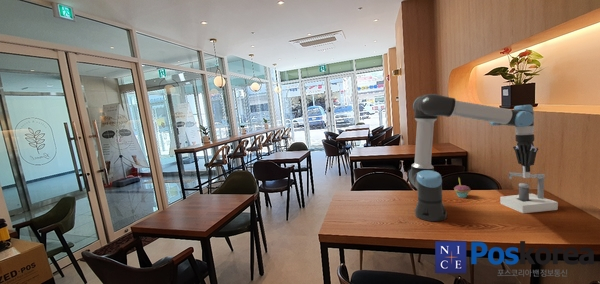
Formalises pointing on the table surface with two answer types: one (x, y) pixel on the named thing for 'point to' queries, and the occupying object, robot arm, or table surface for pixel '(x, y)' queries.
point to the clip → (540, 176)
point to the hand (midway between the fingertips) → (526, 177)
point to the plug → (523, 192)
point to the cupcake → (462, 190)
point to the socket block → (530, 201)
